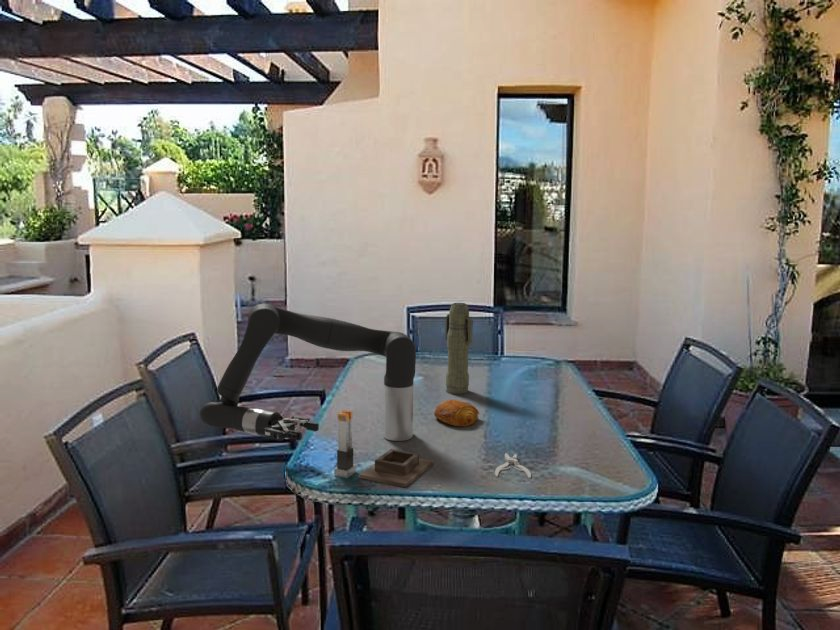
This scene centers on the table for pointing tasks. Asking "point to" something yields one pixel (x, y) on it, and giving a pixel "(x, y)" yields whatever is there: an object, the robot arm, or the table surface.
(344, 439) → the tongs
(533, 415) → the table surface
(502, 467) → the pliers
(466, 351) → the thermos
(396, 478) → the stand
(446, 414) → the croissant
